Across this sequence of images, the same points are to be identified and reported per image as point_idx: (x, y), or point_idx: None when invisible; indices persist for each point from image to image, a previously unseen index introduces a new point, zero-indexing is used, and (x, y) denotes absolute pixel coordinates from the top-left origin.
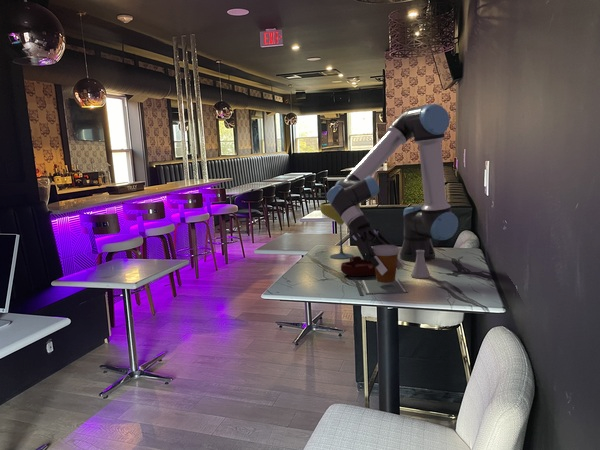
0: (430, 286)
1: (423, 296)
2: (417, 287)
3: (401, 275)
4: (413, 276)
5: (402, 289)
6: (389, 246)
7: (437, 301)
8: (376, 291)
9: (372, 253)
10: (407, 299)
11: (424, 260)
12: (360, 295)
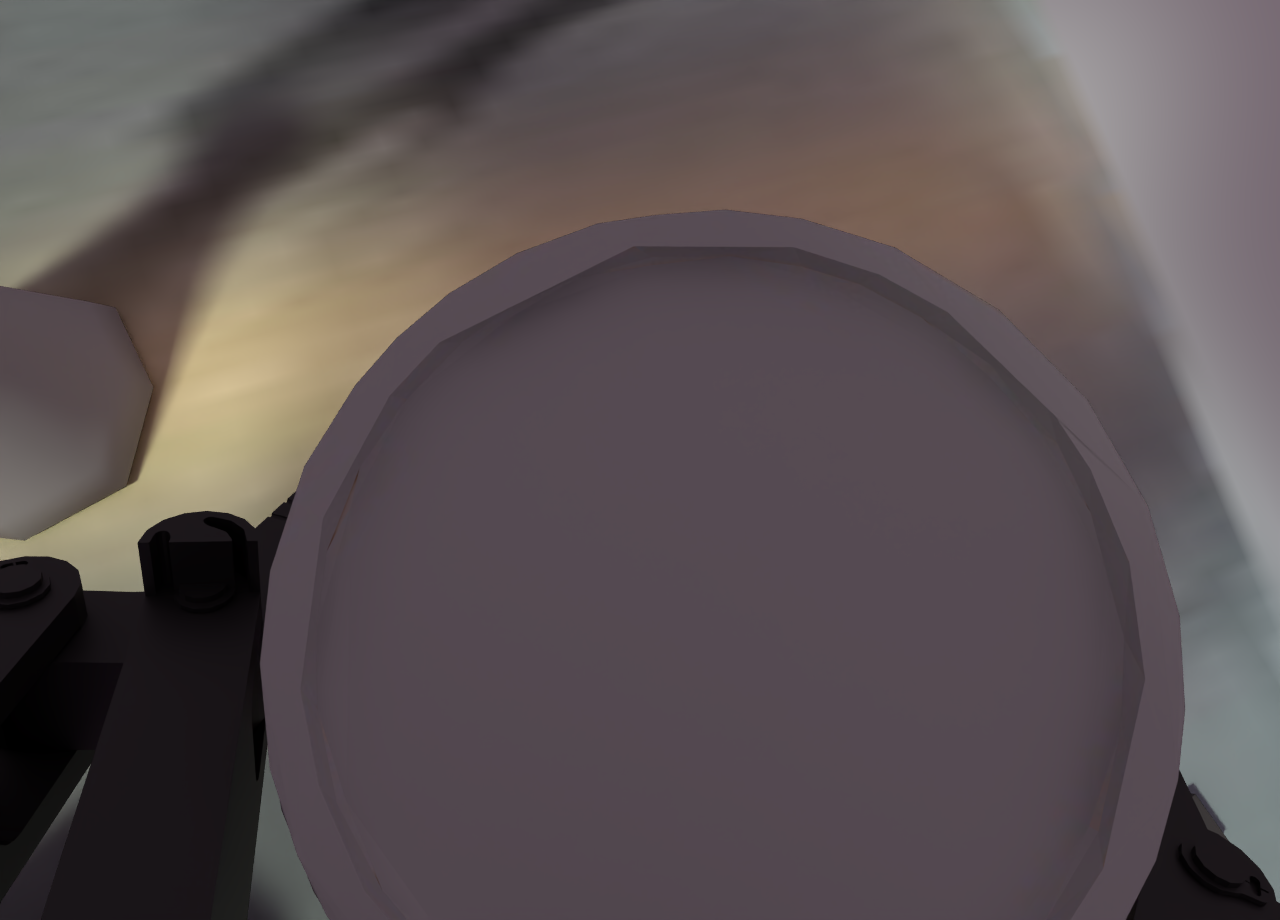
0: (453, 197)
1: (849, 164)
2: None
3: None
4: (117, 469)
5: None
6: (405, 574)
7: (940, 19)
8: None
9: (1204, 901)
10: (1028, 272)
11: None
12: (1222, 835)
